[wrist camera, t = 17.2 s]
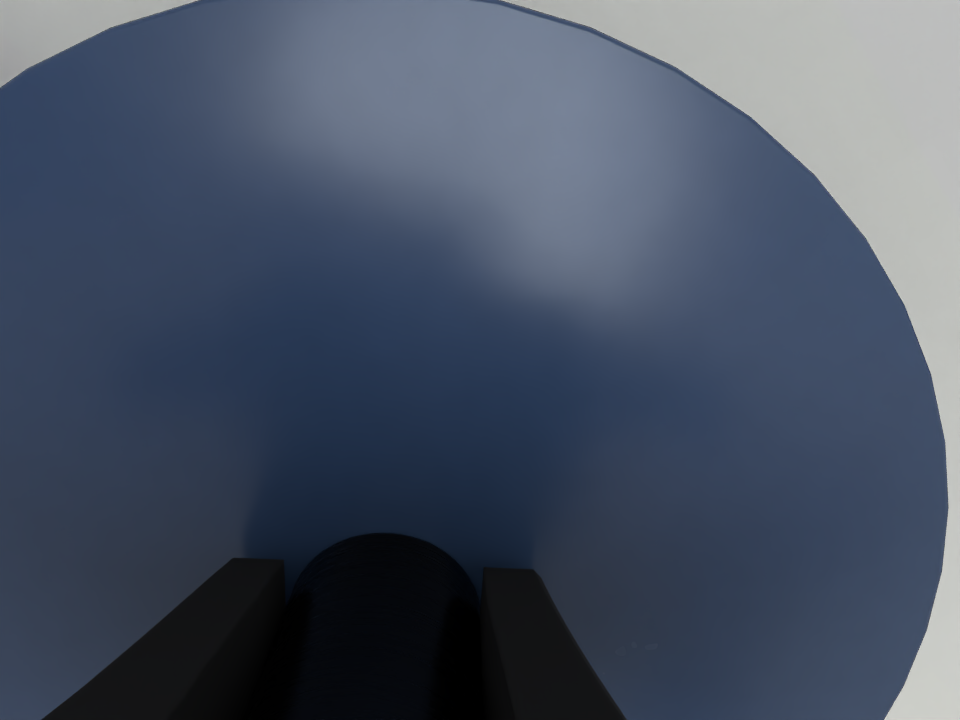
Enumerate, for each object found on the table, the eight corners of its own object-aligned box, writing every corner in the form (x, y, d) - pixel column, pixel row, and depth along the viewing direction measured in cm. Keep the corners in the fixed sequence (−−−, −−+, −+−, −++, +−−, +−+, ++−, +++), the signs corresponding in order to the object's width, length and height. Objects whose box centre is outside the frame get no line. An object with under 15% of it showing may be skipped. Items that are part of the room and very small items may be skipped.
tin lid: (-28, 895, 12) (-327, 1359, 7) (-275, -45, 7) (-1490, -336, 3) (780, 909, 12) (959, 1345, 8) (1037, 50, 8) (1811, -61, 3)
